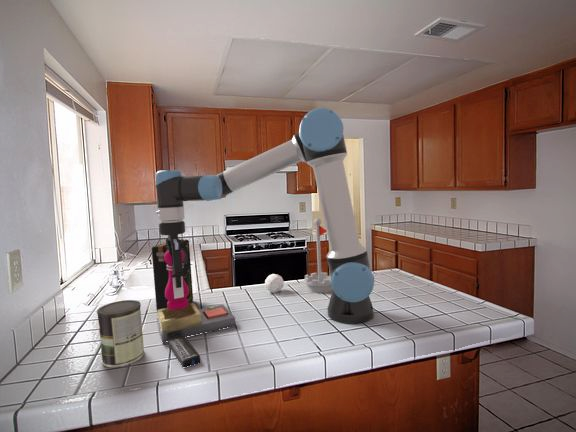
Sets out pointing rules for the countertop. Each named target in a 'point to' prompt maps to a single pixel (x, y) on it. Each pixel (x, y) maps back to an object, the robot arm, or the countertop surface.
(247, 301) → the countertop surface
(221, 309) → the button
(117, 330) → the coffee can
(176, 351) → the multiport hub
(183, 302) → the pepper mill
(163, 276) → the voltmeter
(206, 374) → the countertop surface
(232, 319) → the grey board with box
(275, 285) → the ball
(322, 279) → the flag stand
